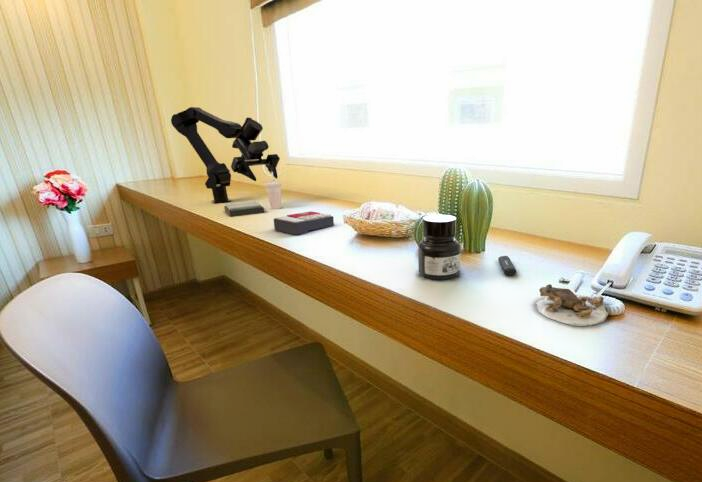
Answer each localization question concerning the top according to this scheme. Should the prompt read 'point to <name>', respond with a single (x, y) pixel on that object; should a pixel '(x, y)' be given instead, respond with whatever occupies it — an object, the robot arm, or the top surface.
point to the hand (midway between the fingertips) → (266, 179)
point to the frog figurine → (571, 307)
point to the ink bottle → (439, 248)
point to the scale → (243, 208)
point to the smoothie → (274, 193)
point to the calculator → (302, 222)
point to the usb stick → (507, 265)
